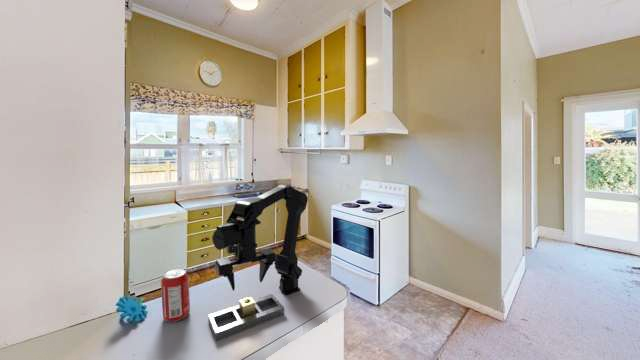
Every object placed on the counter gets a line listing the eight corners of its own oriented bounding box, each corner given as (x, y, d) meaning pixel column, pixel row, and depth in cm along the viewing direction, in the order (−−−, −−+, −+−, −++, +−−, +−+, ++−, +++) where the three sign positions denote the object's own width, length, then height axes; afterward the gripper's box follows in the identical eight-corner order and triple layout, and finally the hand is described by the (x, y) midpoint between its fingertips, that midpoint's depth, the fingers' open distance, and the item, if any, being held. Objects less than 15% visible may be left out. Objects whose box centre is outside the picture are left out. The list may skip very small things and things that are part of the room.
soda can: (171, 327, 79) (168, 281, 78) (158, 318, 83) (155, 274, 82) (194, 314, 86) (193, 271, 84) (182, 306, 90) (180, 265, 88)
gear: (136, 325, 78) (112, 302, 77) (121, 339, 77) (96, 317, 77) (156, 307, 89) (135, 287, 88) (143, 320, 88) (122, 300, 88)
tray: (271, 300, 94) (271, 293, 94) (284, 314, 86) (284, 307, 86) (208, 322, 82) (208, 314, 82) (216, 341, 74) (215, 333, 73)
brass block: (251, 312, 87) (250, 296, 86) (255, 319, 84) (255, 301, 83) (239, 317, 85) (239, 299, 84) (243, 323, 81) (243, 306, 81)
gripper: (263, 228, 94) (264, 269, 96) (210, 238, 83) (211, 283, 85) (277, 237, 85) (277, 281, 87) (218, 249, 74) (220, 299, 76)
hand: (247, 285), depth 84 cm, fingers open, 9 cm apart
